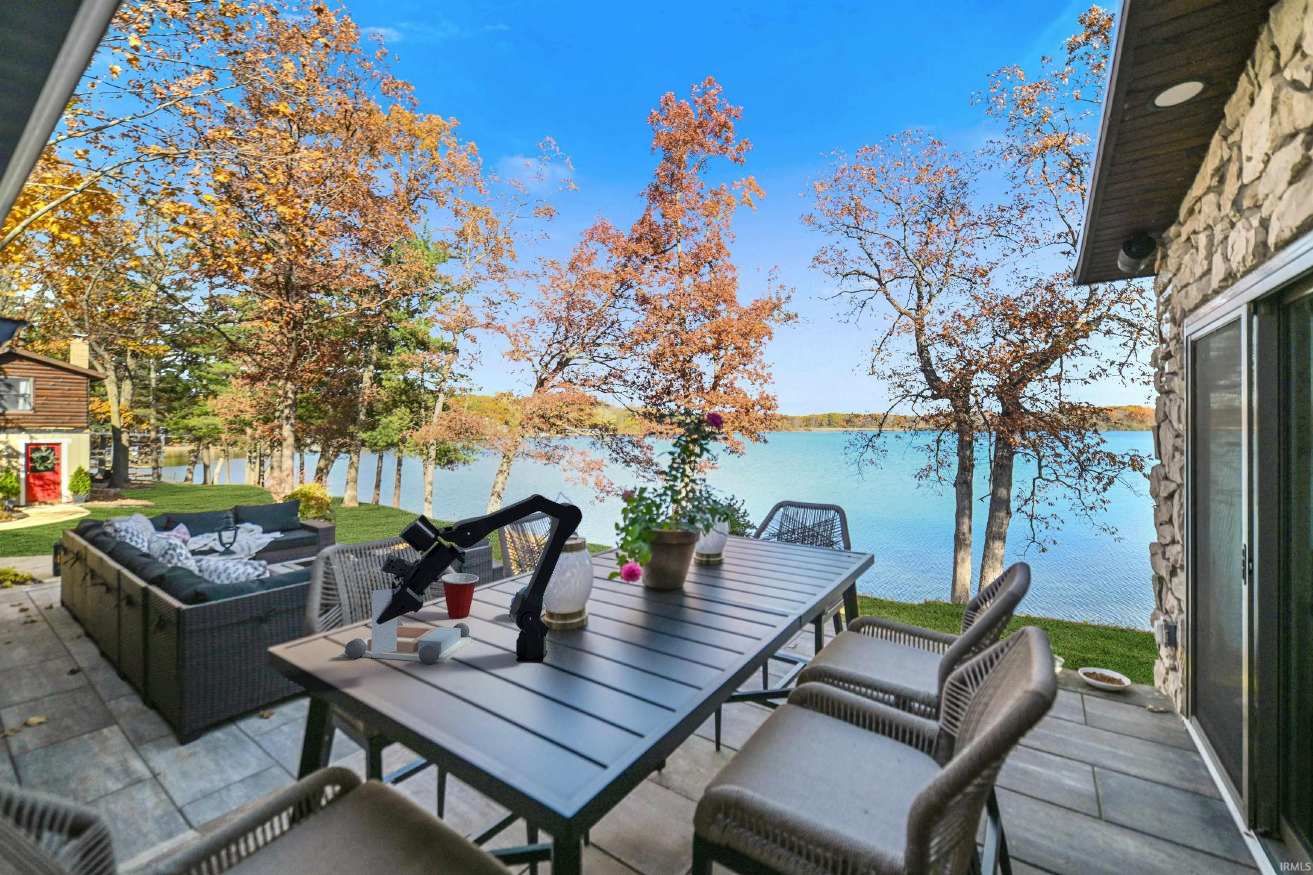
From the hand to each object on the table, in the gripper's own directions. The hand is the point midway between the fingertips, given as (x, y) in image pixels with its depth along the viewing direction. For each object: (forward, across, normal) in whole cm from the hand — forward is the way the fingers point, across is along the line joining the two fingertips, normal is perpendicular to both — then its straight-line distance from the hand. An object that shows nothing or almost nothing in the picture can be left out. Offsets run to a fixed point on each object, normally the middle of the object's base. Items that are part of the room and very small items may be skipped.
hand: (377, 619), depth 124 cm
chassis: (+4, -18, +15) cm, 23 cm away
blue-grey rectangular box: (+4, 0, +6) cm, 7 cm away
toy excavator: (-21, -29, +40) cm, 54 cm away
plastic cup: (-6, -41, +25) cm, 48 cm away
